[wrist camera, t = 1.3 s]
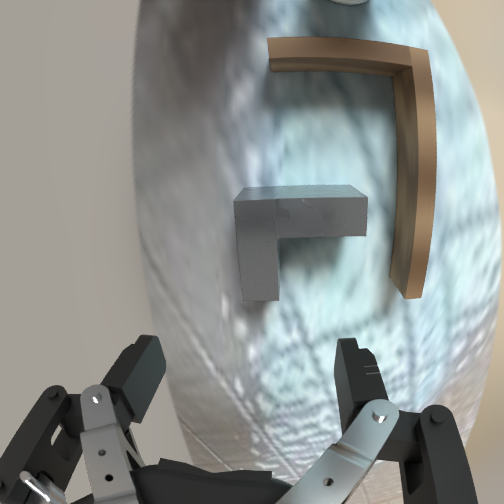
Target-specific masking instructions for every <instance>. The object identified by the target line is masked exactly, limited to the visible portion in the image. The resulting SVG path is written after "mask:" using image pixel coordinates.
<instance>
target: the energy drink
mask: <svg viewBox="0 0 504 504" xmlns="http://www.w3.org/2000/svg"><path fill="white" fill-rule="evenodd" d="M331 1H334V2H336V3H340V4H346V5H356V4H361V3H363V2H366V1H367V0H331Z"/></svg>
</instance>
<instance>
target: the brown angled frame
mask: <svg viewBox="0 0 504 504" xmlns="http://www.w3.org/2000/svg"><path fill="white" fill-rule="evenodd" d="M267 41H268V51H269V60H270V65H271V71H272V72H292V71H329V72H351V73H365V74H376V75H385V76H392V79H393V88H394V99H395V112H396V130H397V199H396V218H395V231H394V243H393V252H392V261H391V270H390V278H391V279H392V281H393V282H394V284H395V285H396V287H397V288H398V290H399V291H400V293H401V294H402V296H403V297H404V299H415V298H421V296H422V291H423V287H424V281H425V276H426V270H427V265H428V258H429V252H430V245H431V237H432V228H433V219H434V207H435V193H436V167H437V142H436V117H435V103H434V92H433V83H432V75H431V68H430V62H429V55H428V50H424V49H419V48H414V47H409V46H404V45H398V44H392V43H385V42H378V41H370V40H360V39H349V38H333V37H277V38H267Z"/></svg>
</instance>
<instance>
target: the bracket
mask: <svg viewBox="0 0 504 504" xmlns="http://www.w3.org/2000/svg"><path fill="white" fill-rule="evenodd" d="M367 206H368V197H367V196H365V195H364V194H363V193H361V192H360V191H358V190H357V189H355V188H354V187H353V186H351V185H300V186H272V187H252V188H244V189H243V190H242V191H241V192H240V194H239V195H238V196H237V197H236V198H235V200H234V213H235V223H236V234H237V245H238V255H239V266H240V276H241V286H242V296H243V301H279V291H280V248H279V238H303V237H341V236H366V231H367Z"/></svg>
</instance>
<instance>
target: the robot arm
mask: <svg viewBox="0 0 504 504" xmlns="http://www.w3.org/2000/svg"><path fill="white" fill-rule="evenodd" d="M165 371H166V360H165V357H164V354H163V351H162V348H161V344H160V341H159V338H158V337H157V336H152V335H140V336H139V338H138V339H137V341H136V342H135V344H131V345H130V346H128V347H127V348H125V349H124V350H123V351H122V353H121V354H120V356H119V358H118V359H117V360H116V362H115V363H114V365H113V366H112V367H111V369H110V370H109V372H108V373H107V375H106V376H105V378H104V379H103V381H102V382H101V384H100V385H92V386H90V387H88V388H86V389H85V390H84V391H83V392H82V394H68V393H67V392H66V390H65V389H64V387H62V386H59V385H54V386H51V387H49V388H47V389H46V390H45V391H44V392H43V393H42V395H41V396H40V398H39V399H38V401H37V402H36V404H35V405H34V406H33V408H32V409H31V411H30V412H29V414H28V415H27V417H26V419H25V420H24V421H23V423H22V424H21V426H20V427H19V429H18V431H17V432H16V434H15V435H14V437H13V438H12V440H11V442H10V443H9V445H8V447H7V448H6V450H5V452H4V453H3V455H2V457H1V458H0V503H1V504H67V503H66V498H65V494H64V492H65V490H66V488H67V485H68V483H69V481H70V479H71V476H72V474H73V472H74V470H75V467H76V465H77V463H78V461H79V459H80V457H81V455H82V453H83V454H84V459H85V464H86V468H87V473H88V477H89V481H90V485H91V489H92V492H93V493H91V494H89V495H87V496H85V497H83V498H81V499H79V500H77V501H75V502H73V503H71V504H346V503H347V501H348V500H349V499H350V497H351V496H352V494H353V493H354V492H355V490H356V489H357V488H358V486H359V485H360V483H361V482H362V481H363V479H364V478H365V476H366V475H367V474H368V472H369V471H370V469H371V468H372V466H373V465H374V463H375V462H376V460H386V461H395V462H399V467H400V475H401V482H402V491H403V500H404V504H478V501H477V496H476V492H475V487H474V483H473V479H472V475H471V471H470V467H469V464H468V460H467V457H466V454H465V450H464V447H463V443H462V440H461V437H460V434H459V431H458V428H457V425H456V422H455V419H454V417H453V414H452V412H451V411H450V410H449V409H448V408H446V407H445V406H442V405H431V406H428V407H426V408H425V409H424V410H423V411H422V413H413V412H404V411H401V410H399V409H398V408H397V407H396V405H395V404H393V403H392V402H390V401H389V399H388V396H387V393H386V390H385V386H384V383H383V380H382V377H381V374H380V371H379V368H378V366H377V362H376V359H375V356H374V355H373V354H372V353H371V352H370V351H369V350H368V349H367V348H364V349H359V347H358V344H357V341H356V338H341V339H338V341H337V348H336V356H335V364H334V378H335V385H336V392H337V398H338V405H339V413H340V420H341V428H342V437H341V438H340V440H339V441H338V442H337V443H336V444H332V445H331V446H330V447H329V448H328V449H327V450H326V451H325V452H324V453H323V455H322V456H321V457H320V458H319V459H318V460H317V461H316V463H315V464H314V465H313V466H312V467H311V468H310V469H309V470H308V471H307V472H306V473H305V475H304V476H303V477H302V478H301V479H300V480H299V481H298V482H297V483H296V484H295V485H294V486H292V485H291V484H289V483H287V482H284V481H282V480H279V479H275V478H272V471H253V470H238V471H229V472H219V473H211V472H208V471H205V470H202V469H200V468H197V467H194V466H192V465H190V464H187V463H183V462H178V461H173V460H167V459H163V458H160V461H159V463H158V465H149V466H145V464H144V462H143V460H142V458H141V456H140V453H139V450H138V448H137V445H136V442H135V440H134V437H133V434H132V431H131V429H130V427H129V426H130V423H131V422H136V423H141V422H142V420H143V418H144V415H145V413H146V411H147V409H148V407H149V405H150V403H151V401H152V399H153V396H154V394H155V392H156V390H157V388H158V386H159V384H160V382H161V380H162V378H163V376H164V374H165ZM58 425H60V427H61V428H62V429H61V431H60V433H59V435H58V436H57V438H56V440H55V442H54V444H53V446H52V445H51V437H52V435H53V434H54V432H55V430H56V428H57V427H58Z"/></svg>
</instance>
